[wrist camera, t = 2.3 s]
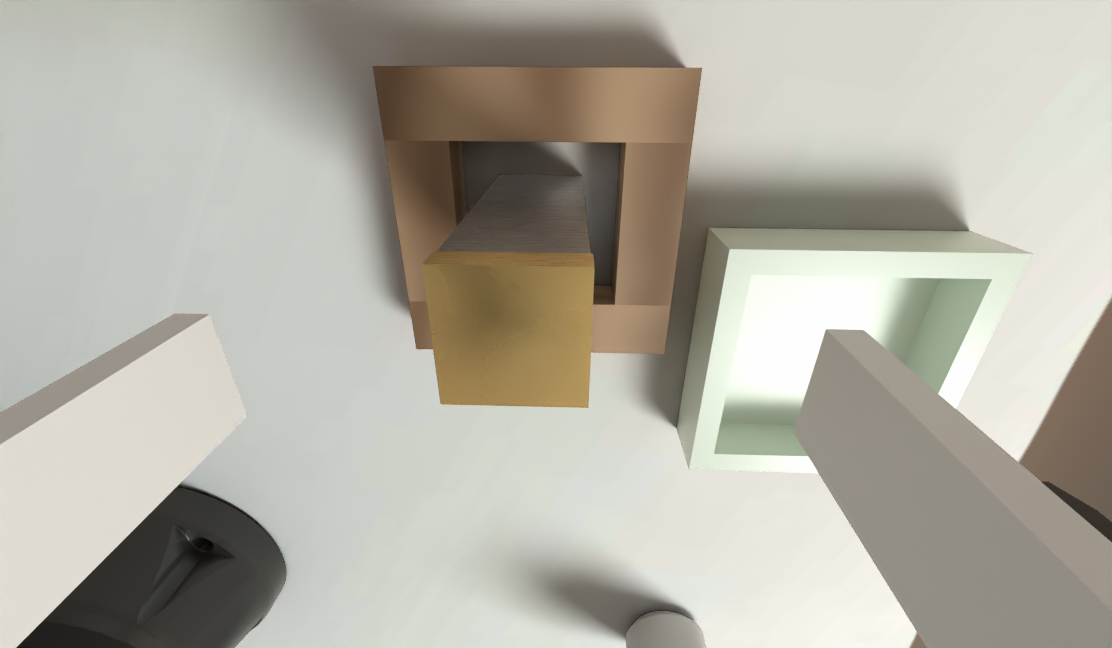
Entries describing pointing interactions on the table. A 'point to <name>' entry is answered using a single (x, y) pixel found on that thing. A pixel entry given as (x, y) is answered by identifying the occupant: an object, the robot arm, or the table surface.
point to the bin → (827, 326)
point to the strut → (515, 297)
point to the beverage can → (664, 632)
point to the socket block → (548, 116)
